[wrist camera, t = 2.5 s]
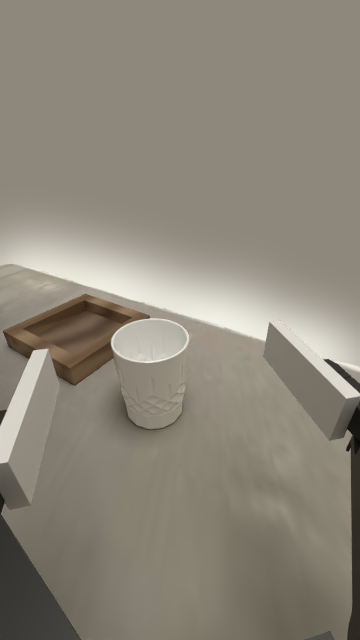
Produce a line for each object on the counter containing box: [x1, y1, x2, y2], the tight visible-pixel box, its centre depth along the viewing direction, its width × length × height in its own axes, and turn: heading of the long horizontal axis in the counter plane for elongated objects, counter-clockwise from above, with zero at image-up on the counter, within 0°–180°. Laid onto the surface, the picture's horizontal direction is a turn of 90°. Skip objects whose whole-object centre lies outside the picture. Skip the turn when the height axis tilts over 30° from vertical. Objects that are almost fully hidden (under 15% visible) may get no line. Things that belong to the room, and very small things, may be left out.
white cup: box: [111, 319, 189, 429], centre depth 30 cm, size 8×8×10 cm
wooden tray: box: [3, 294, 150, 385], centre depth 44 cm, size 16×16×3 cm
